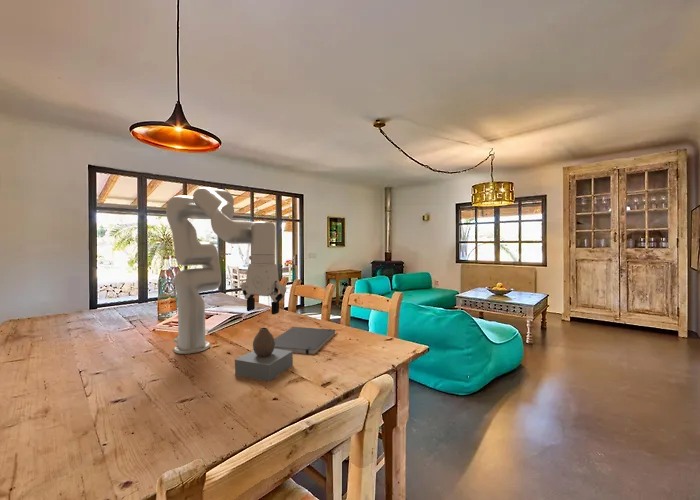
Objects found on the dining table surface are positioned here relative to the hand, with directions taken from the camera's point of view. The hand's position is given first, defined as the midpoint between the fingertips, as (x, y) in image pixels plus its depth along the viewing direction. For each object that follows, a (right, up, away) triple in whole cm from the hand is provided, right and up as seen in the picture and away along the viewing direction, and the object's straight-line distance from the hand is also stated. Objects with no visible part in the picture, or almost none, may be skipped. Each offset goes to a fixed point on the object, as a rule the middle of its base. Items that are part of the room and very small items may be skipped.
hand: (262, 311), depth 103 cm
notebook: (+8, -19, +31) cm, 37 cm away
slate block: (+1, -19, 0) cm, 19 cm away
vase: (0, -14, 0) cm, 14 cm away
